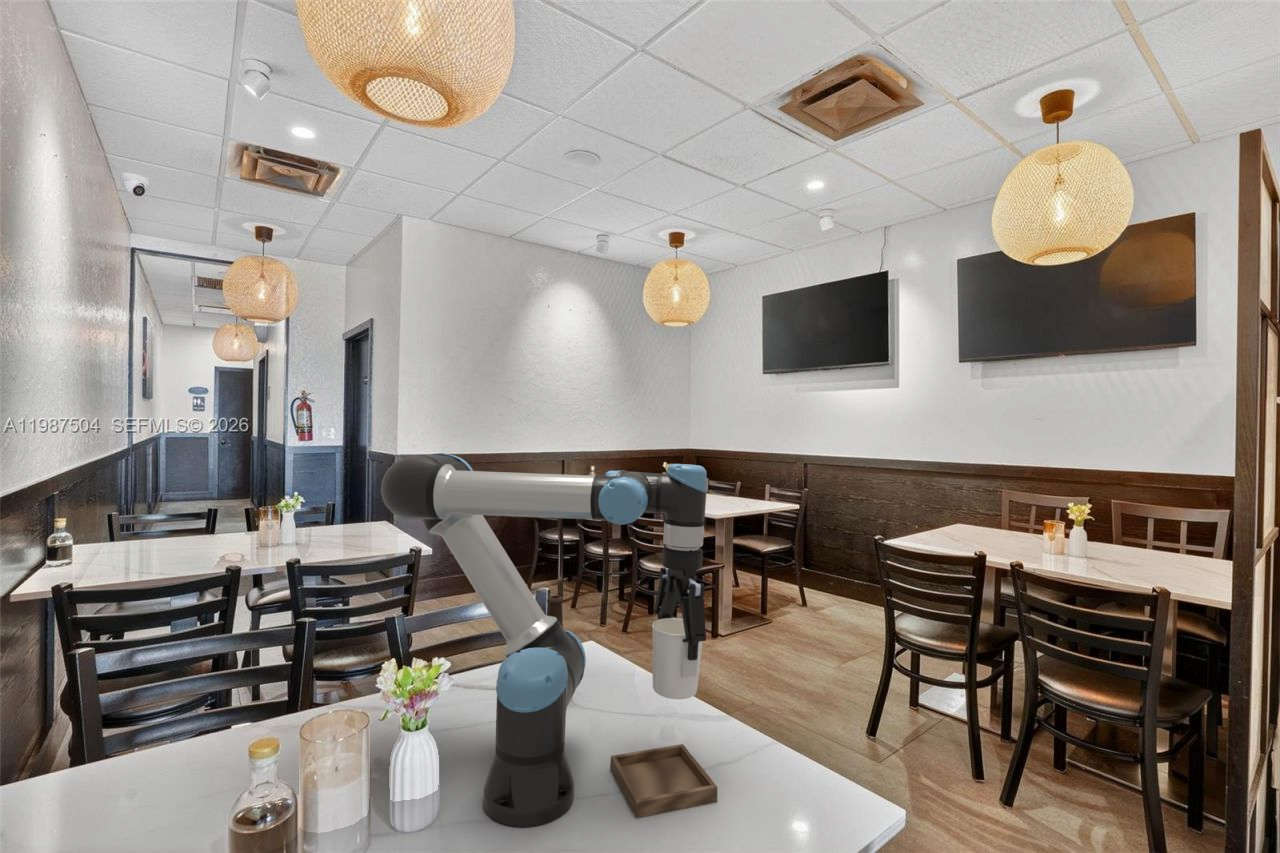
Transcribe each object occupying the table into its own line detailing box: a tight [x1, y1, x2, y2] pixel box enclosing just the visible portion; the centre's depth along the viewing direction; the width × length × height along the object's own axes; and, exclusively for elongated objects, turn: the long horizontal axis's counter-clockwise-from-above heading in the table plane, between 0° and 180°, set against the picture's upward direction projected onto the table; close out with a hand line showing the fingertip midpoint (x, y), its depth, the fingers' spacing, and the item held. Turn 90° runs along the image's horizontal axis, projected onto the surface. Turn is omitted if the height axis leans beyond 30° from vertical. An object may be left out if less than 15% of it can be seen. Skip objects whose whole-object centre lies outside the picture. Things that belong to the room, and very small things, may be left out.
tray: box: [609, 743, 718, 819], centre depth 107 cm, size 15×15×2 cm
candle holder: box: [651, 617, 704, 700], centre depth 113 cm, size 10×10×12 cm
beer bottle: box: [546, 594, 564, 628], centre depth 138 cm, size 8×8×24 cm
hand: (676, 665), depth 113 cm, fingers closed on candle holder, 10 cm apart
